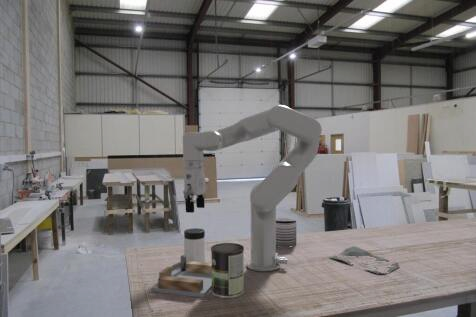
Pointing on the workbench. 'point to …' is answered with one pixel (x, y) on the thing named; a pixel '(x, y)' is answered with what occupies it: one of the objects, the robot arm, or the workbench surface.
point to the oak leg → (199, 267)
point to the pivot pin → (183, 263)
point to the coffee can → (227, 270)
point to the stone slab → (360, 252)
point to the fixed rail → (180, 284)
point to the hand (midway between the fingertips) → (195, 209)
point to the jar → (194, 245)
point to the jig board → (183, 274)
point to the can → (285, 232)
